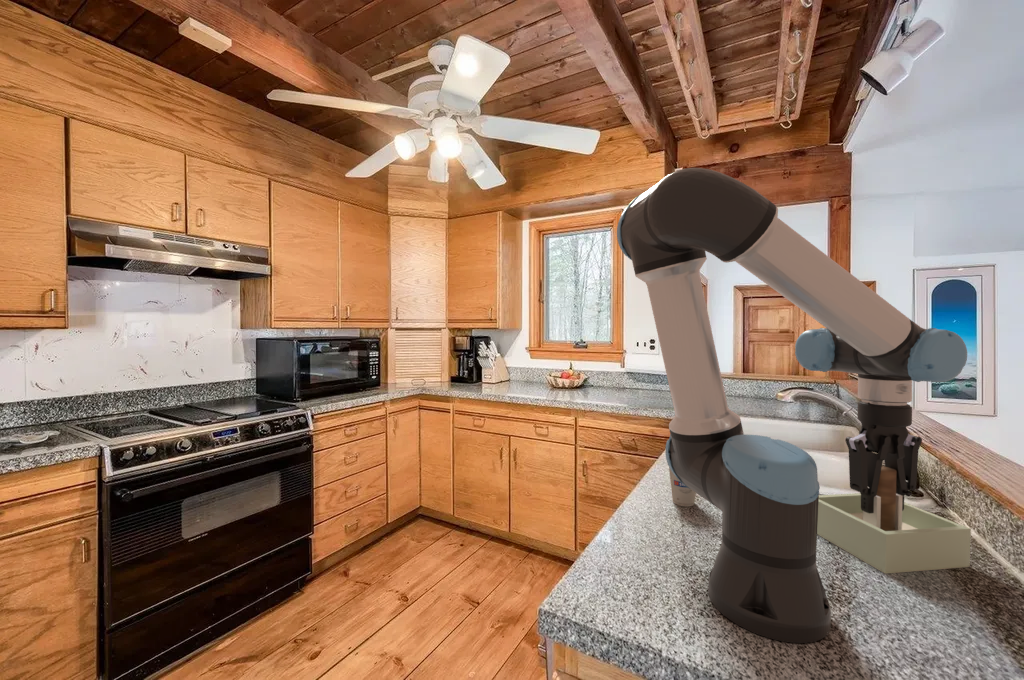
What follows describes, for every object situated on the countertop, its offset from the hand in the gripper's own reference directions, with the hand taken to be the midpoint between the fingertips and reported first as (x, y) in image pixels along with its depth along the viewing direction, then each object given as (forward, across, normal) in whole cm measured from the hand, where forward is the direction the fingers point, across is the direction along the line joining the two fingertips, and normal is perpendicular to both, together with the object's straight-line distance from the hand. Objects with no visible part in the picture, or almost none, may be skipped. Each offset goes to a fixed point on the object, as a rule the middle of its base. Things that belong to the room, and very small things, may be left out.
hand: (882, 528), depth 79 cm
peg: (+1, 0, 0) cm, 1 cm away
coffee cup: (+3, -26, +23) cm, 35 cm away
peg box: (+3, 0, 0) cm, 3 cm away
